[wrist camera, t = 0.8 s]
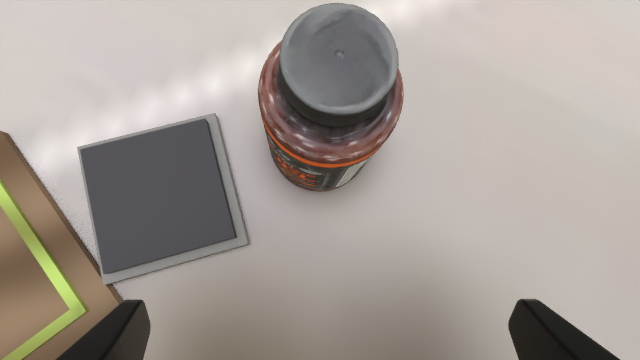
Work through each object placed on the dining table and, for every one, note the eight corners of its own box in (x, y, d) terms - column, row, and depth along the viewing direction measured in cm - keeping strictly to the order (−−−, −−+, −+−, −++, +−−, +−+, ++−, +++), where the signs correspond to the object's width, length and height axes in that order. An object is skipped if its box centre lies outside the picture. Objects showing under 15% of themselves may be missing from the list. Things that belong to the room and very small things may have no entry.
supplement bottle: (250, 153, 23) (206, 64, 12) (310, 82, 24) (321, -60, 13) (328, 213, 23) (357, 179, 12) (385, 138, 24) (462, 41, 13)
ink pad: (249, 243, 22) (245, 243, 20) (110, 283, 21) (95, 286, 20) (217, 117, 23) (211, 108, 22) (85, 150, 22) (68, 143, 21)
